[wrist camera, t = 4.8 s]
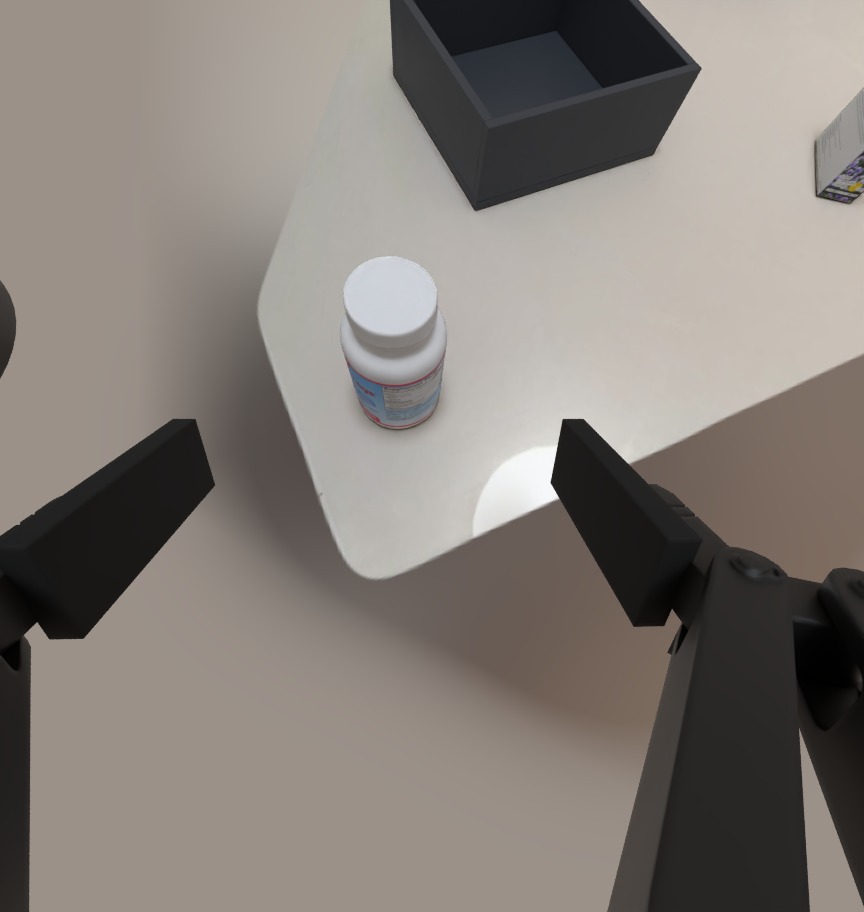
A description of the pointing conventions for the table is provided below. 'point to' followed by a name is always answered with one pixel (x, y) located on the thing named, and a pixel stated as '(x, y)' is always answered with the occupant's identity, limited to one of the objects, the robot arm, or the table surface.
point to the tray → (537, 87)
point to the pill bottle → (394, 340)
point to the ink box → (842, 154)
